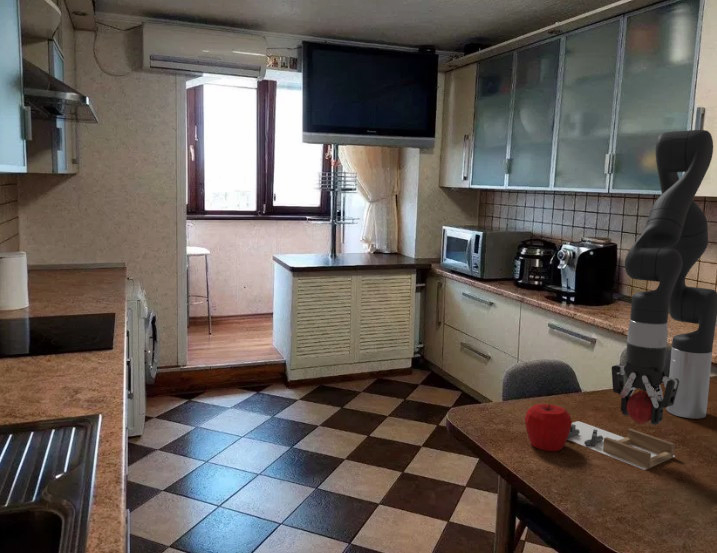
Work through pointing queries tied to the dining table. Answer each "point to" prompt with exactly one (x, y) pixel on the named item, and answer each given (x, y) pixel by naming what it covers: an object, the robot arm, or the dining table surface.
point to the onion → (640, 407)
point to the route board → (598, 439)
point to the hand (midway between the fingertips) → (640, 418)
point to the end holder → (637, 455)
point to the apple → (548, 426)
